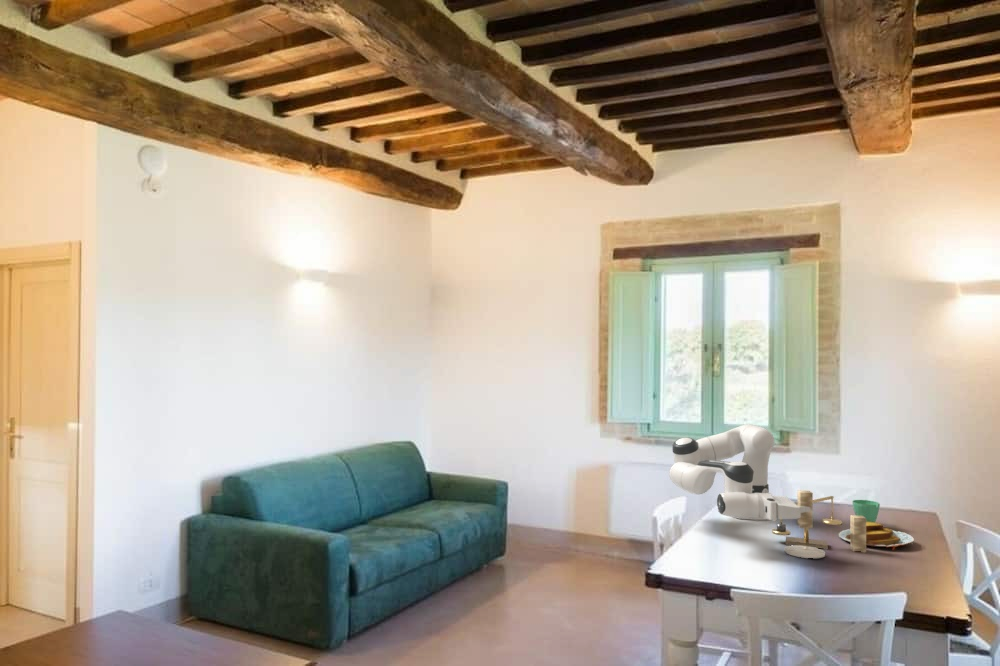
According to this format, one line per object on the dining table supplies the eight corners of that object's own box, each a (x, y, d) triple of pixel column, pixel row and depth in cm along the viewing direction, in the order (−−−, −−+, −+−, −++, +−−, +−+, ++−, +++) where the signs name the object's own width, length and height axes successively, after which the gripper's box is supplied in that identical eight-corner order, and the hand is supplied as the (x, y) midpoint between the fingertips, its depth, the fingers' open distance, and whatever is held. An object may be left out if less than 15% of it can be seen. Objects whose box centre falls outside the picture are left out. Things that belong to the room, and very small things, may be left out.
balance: (771, 543, 262) (771, 492, 263) (772, 538, 269) (772, 489, 269) (842, 551, 253) (842, 498, 254) (841, 546, 259) (841, 495, 260)
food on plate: (912, 556, 249) (912, 537, 249) (834, 545, 263) (834, 527, 263) (915, 540, 271) (915, 522, 271) (843, 530, 284) (843, 514, 284)
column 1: (800, 527, 246) (800, 492, 246) (797, 524, 250) (797, 490, 250) (812, 528, 245) (812, 493, 246) (809, 525, 249) (809, 490, 250)
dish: (776, 552, 250) (776, 548, 250) (800, 547, 257) (800, 543, 257) (809, 562, 239) (809, 557, 239) (833, 557, 246) (833, 552, 246)
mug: (880, 531, 283) (879, 505, 283) (852, 528, 287) (852, 503, 287) (879, 523, 296) (879, 499, 296) (852, 520, 300) (852, 496, 301)
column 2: (854, 551, 253) (854, 517, 253) (850, 548, 256) (850, 515, 257) (866, 552, 252) (866, 518, 252) (862, 549, 256) (862, 515, 256)
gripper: (760, 508, 260) (800, 510, 258) (772, 521, 240) (815, 523, 238) (760, 491, 260) (800, 492, 258) (772, 502, 240) (815, 504, 238)
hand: (807, 507), depth 248 cm, fingers closed on column 1, 4 cm apart
